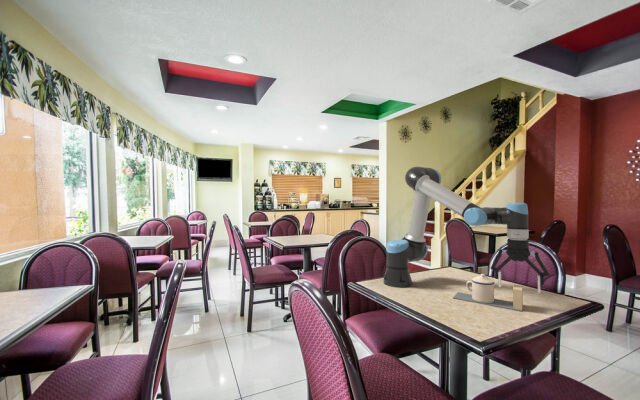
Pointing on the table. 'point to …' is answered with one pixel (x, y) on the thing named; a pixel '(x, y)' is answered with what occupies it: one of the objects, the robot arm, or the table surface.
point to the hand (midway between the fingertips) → (518, 289)
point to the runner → (514, 305)
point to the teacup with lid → (482, 289)
